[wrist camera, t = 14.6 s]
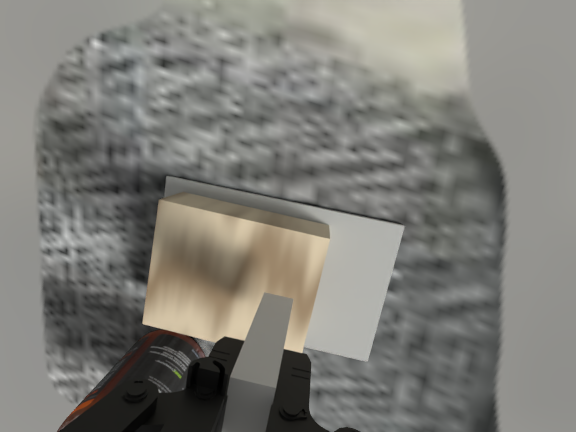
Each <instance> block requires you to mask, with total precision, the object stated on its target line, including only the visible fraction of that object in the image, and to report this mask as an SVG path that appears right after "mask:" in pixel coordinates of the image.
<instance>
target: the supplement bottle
mask: <svg viewBox="0 0 576 432" xmlns="http://www.w3.org/2000/svg"><path fill="white" fill-rule="evenodd" d="M203 357H205V355H204V352H203V351H202V349H201V348H200V346H199V345H198V344H197V343H196V342H195V341H194V340H193V339H192V338H191V337H189V336H187V335H184V334H180V333H176V332H172V331H168V330H156V331H153V332H150V333H148V334H146V335H145V336H144V337H142V338H141V339H140V340H139V341H138V342H137V343H136V344H135V345H134V346H133V347H132V348H131V349H130V350H129V351H128V352H127V353H126V354H125V355H124V356H123V358H122V359H121V360H120V361H119V362H118V363H117V364H116V365H115V366H114V367H113V368H112V369H111V370H110V372H109V373H108V374H107V375H106V376H105V377H104V378H103V379H102V380H101V381H100V382H99V383H98V384H97V386H96V387H95V388H94V389H93V390H92V391H91V392H90V393H89V394H88V395H87V396H86V397H85V399H84V400H83V401H82V402H81V403H80V404H79V405H78V406H77V407H76V409H75V410H74V411H73V412H72V413H71V414H70V415H69V416H68V417H67V419H66V420H65V421H64V422H63V424H62V425H61V426H60V428H59V429H58V431H57V432H59V431H60V430H61V429H63V428H64V427H65V426H66V425H68V424H69V423H70V422H72V421H73V420H74V419H76V418H77V417H78V416H80V415H81V414H82V413H83V412H85V411H86V410H87V409H89V408H90V407H91V406H93V405H94V404H95V403H97V402H98V401H99V400H100V399H102V398H103V397H104V396H106V395H107V394H108V393H110V392H111V391H112V390H114V389H115V388H116V387H118V386H119V385H120V384H122V383H124V382H126V381H129V380H133V379H146V380H149V381H152V382H153V383H154V384H156V386H157V388H158V393H169V392H178V391H181V390H184V389H185V387H186V381H187V374H188V367H189V365H190V364H191V363H192V362H193V361H194V360H196V359H199V358H203Z"/></svg>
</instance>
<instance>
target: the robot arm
mask: <svg viewBox="0 0 576 432" xmlns="http://www.w3.org/2000/svg"><path fill="white" fill-rule="evenodd" d="M292 304H293V299H292V298H287V297H283V296H278V295H274V294H270V293H265V292H264V294H263V297H262V299H261V302H260V304H259V307H258V309H257V312H256V314H255V316H254V319H253V321H252V324H251V326H250V329H249V331H248V334H247V336H246V339H245V341H244V340H239V339H235V338H231V337H226V336H224V337H223V338H221V339H220V340H218V341H217V342H216V343H215V345H214V347H213V349H212V351H211V353H210V354H209V357H203V358H199V359H196V360H194V361H193V362H192V363H191V364H190V365H189V367H188V374H187V381H186V387H185V389H184V390H181V391H178V392H169V393H158V388H157V386H156V384H154V383H153V382H152V381H149V380H146V379H133V380H129V381H126V382H124V383H122V384H120V385H119V386H118V387H116V388H115V389H114V390H112V391H111V392H110V393H108V394H107V395H106V396H104V397H103V398H102V399H100V400H99V401H98V402H97V403H95V404H94V405H93V406H91V407H90V408H89V409H87V410H86V411H85V412H83V413H82V414H81V415H80V416H78V417H77V418H76V419H74V420H73V421H72V422H70V423H69V424H68V425H66V426H65V427H64V428H63V429H61V430H60V431H59V432H329V431H328V430H326V429H324V428H323V427H321V426H319V425H318V424H317V423H316V422H315V421H314V419H313V418H312V416H311V414H310V411H309V395H310V377H311V361H310V359H309V357H308V356H307V354H304V353H299V352H295V351H291V350H286V349H284V345H285V340H286V335H287V330H288V325H289V319H290V314H291V309H292ZM335 432H360V431H358V430H356V429H353V428H348V427H345V428H339V429H338V430H336V431H335Z"/></svg>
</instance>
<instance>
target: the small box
mask: <svg viewBox="0 0 576 432" xmlns="http://www.w3.org/2000/svg"><path fill="white" fill-rule="evenodd" d="M329 242H330V229H329V225H326V224H321V223H317V222H313V221H308V220H304V219H299V218H295V217H291V216H286V215H282V214H278V213H273V212H269V211H265V210H260V209H256V208H252V207H247V206H243V205H238V204H234V203H230V202H225V201H221V200H217V199H212V198H208V197H204V196H199V195H195V194H190V193H186V192H181V193H178V194H175V195H171V196H168V197H165V198H162V199H159V203H158V211H157V218H156V226H155V233H154V241H153V248H152V255H151V263H150V270H149V278H148V285H147V293H146V300H145V308H144V315H143V323H142V324H145V325H149V326H152V327H156V328H160V329H164V330H168V331H172V332H176V333H180V334H184V335H188V336H192V337H196V338H200V339H204V340H208V341H212V342H217V341H218V340H220V339H221V338H223V337H224V336H226V337H231V338H235V339H239V340H244V341H245V339H246V336H247V334H248V331H249V329H250V326H251V324H252V321H253V319H254V316H255V314H256V312H257V309H258V307H259V304H260V302H261V299H262V297H263V294H264V292H265V293H270V294H274V295H278V296H283V297H287V298H292V299H293V304H292V309H291V314H290V319H289V325H288V330H287V335H286V340H285V345H284V349H286V350H291V351H295V352H299V353H302V351H303V347H304V343H305V339H306V335H307V331H308V327H309V323H310V319H311V315H312V311H313V307H314V303H315V299H316V295H317V291H318V287H319V283H320V278H321V274H322V270H323V266H324V262H325V258H326V254H327V250H328V246H329Z"/></svg>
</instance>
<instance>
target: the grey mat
mask: <svg viewBox="0 0 576 432" xmlns="http://www.w3.org/2000/svg"><path fill="white" fill-rule="evenodd" d="M181 192H186V193H190V194H195V195H199V196H204V197H208V198H212V199H217V200H221V201H225V202H230V203H234V204H238V205H243V206H247V207H252V208H256V209H260V210H265V211H269V212H273V213H278V214H282V215H286V216H291V217H295V218H299V219H304V220H308V221H313V222H317V223H321V224H326V225H329V229H330V242H329V246H328V250H327V254H326V258H325V262H324V266H323V270H322V274H321V278H320V283H319V287H318V291H317V295H316V299H315V303H314V307H313V311H312V315H311V319H310V323H309V327H308V331H307V335H306V339H305V343H304V347H306V348H311V349H315V350H319V351H324V352H328V353H332V354H336V355H341V356H345V357H349V358H354V359H358V360H362V361H366V362H368V358H369V354H370V351H371V347H372V343H373V340H374V336H375V332H376V329H377V325H378V321H379V318H380V314H381V311H382V307H383V303H384V300H385V296H386V292H387V289H388V285H389V281H390V278H391V274H392V270H393V267H394V263H395V259H396V256H397V252H398V248H399V245H400V241H401V237H402V234H403V230H404V227H405V226H404V225H402V224H397V223H393V222H388V221H383V220H378V219H373V218H369V217H364V216H359V215H354V214H350V213H345V212H340V211H335V210H330V209H326V208H321V207H316V206H311V205H306V204H302V203H297V202H292V201H287V200H283V199H278V198H273V197H268V196H263V195H259V194H254V193H249V192H244V191H240V190H235V189H230V188H225V187H220V186H216V185H211V184H206V183H201V182H197V181H192V180H187V179H182V178H177V177H173V176H166V184H165V192H164V198H165V197H168V196H171V195H175V194H178V193H181Z"/></svg>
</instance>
